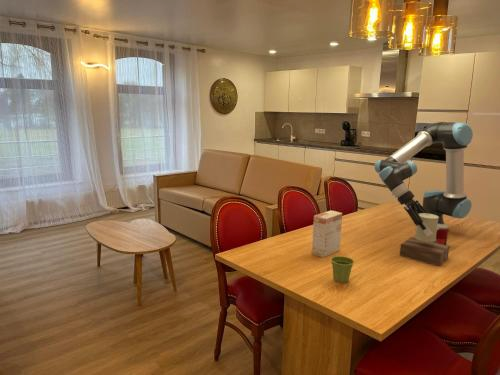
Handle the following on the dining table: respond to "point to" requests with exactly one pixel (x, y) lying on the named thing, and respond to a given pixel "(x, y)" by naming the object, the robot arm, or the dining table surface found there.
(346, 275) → the plant pot
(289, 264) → the dining table surface
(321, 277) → the dining table surface
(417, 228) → the can
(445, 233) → the canned food
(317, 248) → the coffeecake box
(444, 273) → the dining table surface
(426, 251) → the walnut riser
